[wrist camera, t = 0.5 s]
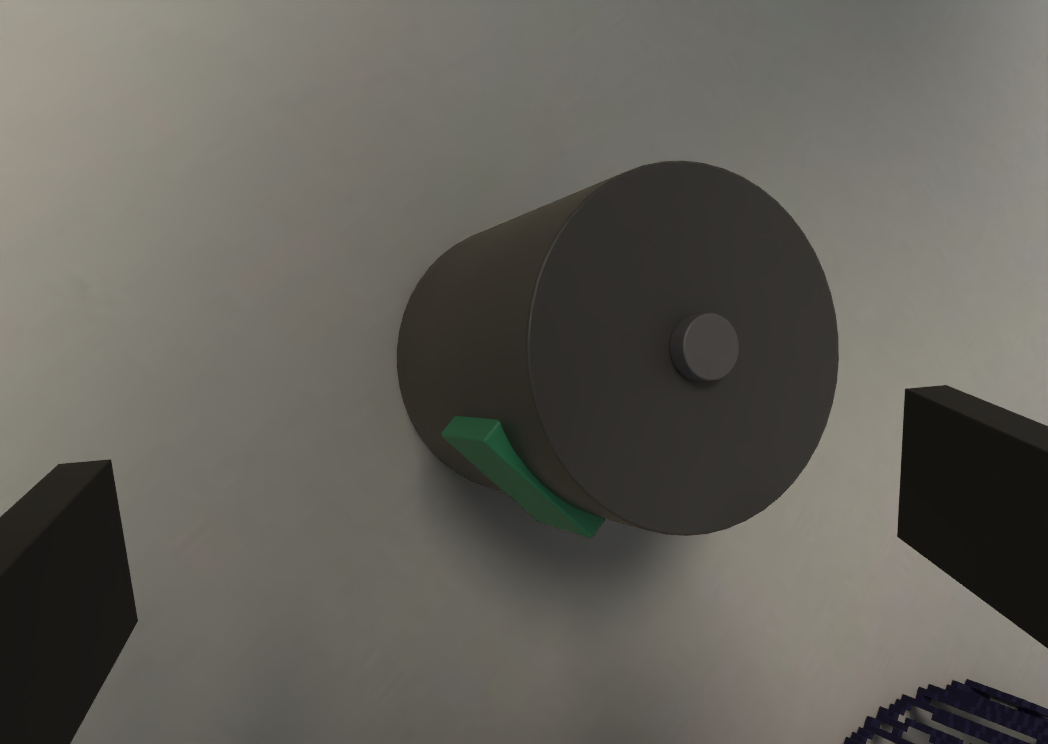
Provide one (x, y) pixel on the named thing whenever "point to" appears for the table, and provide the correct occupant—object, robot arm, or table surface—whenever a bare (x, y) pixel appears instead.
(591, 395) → the knobbed grey canister
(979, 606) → the table surface
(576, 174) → the table surface
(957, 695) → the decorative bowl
